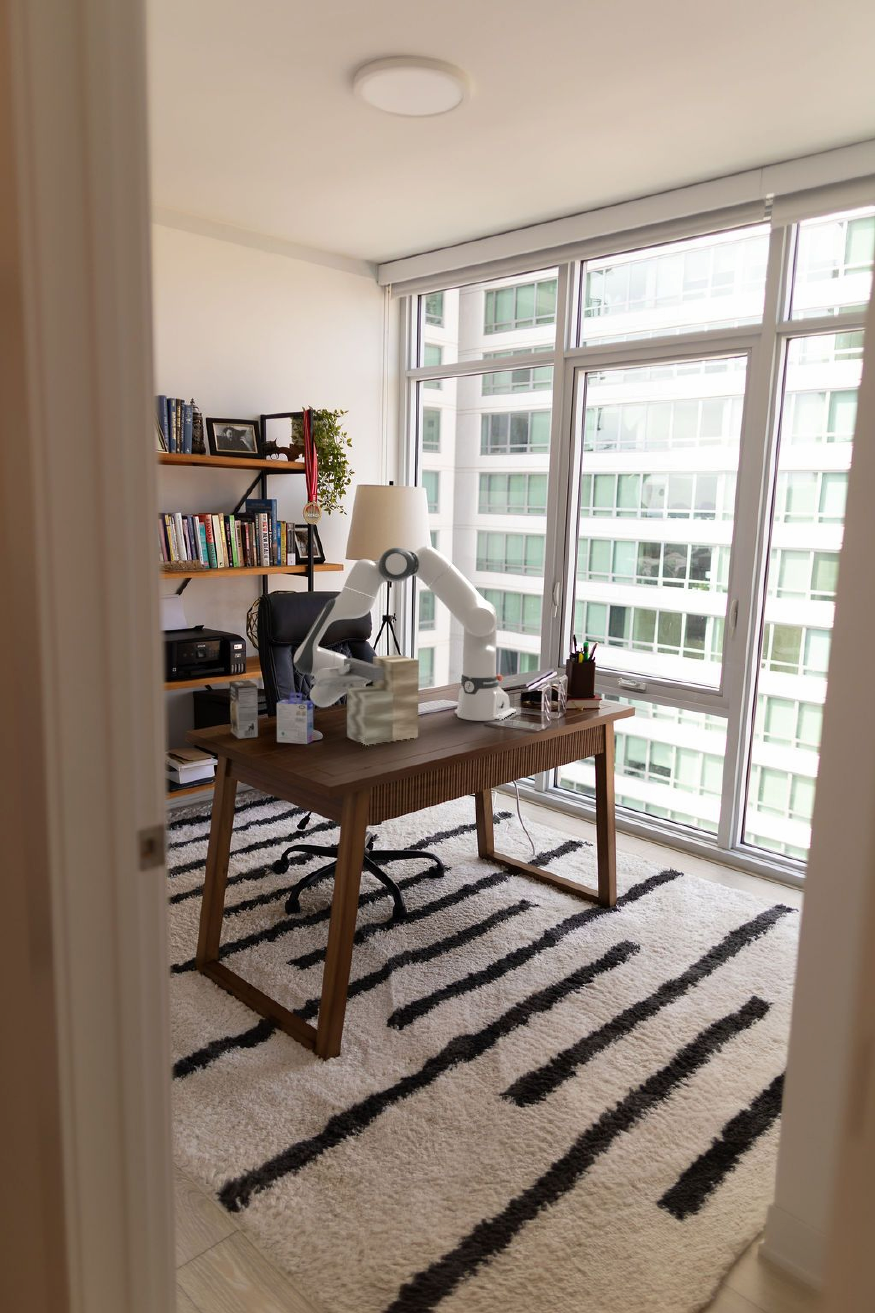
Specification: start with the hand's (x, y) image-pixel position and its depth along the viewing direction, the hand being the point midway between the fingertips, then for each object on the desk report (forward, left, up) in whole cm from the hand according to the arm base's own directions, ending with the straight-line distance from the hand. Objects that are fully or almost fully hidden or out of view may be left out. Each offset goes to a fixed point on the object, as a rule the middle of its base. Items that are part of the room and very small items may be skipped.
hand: (356, 665), depth 273 cm
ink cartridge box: (+19, -8, -22) cm, 29 cm away
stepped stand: (-1, +9, -21) cm, 23 cm away
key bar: (+1, +4, -2) cm, 5 cm away
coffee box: (+23, -26, -22) cm, 40 cm away
